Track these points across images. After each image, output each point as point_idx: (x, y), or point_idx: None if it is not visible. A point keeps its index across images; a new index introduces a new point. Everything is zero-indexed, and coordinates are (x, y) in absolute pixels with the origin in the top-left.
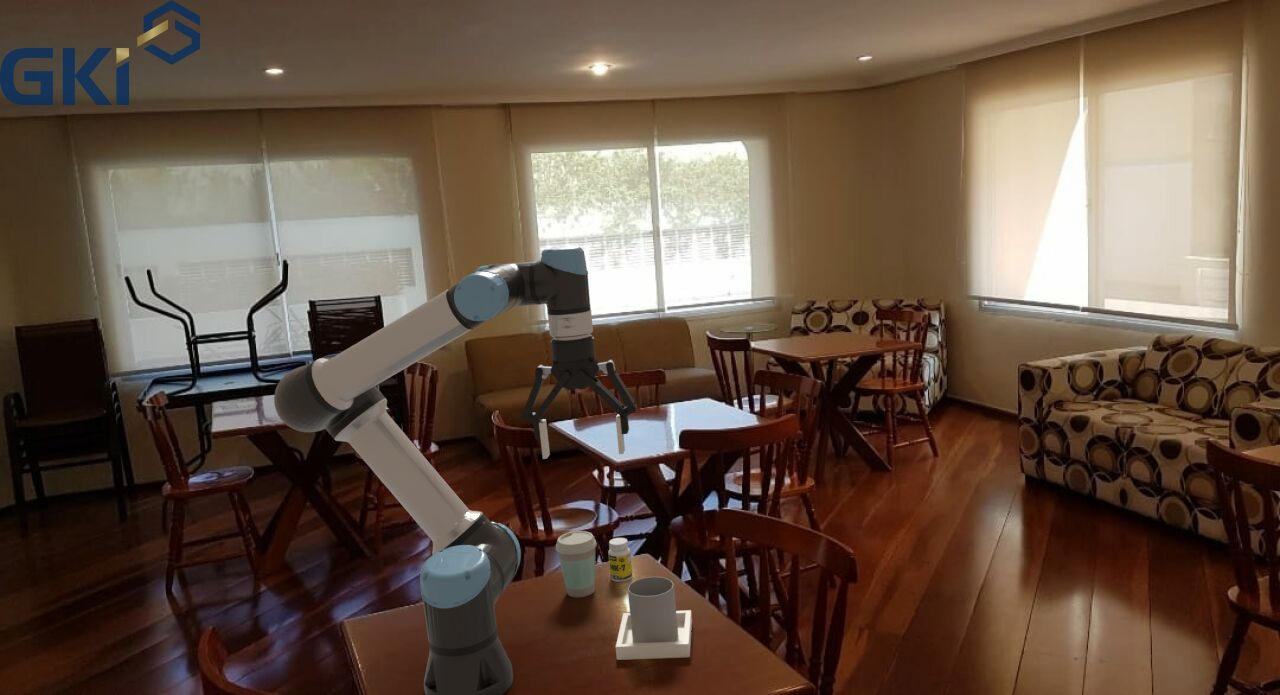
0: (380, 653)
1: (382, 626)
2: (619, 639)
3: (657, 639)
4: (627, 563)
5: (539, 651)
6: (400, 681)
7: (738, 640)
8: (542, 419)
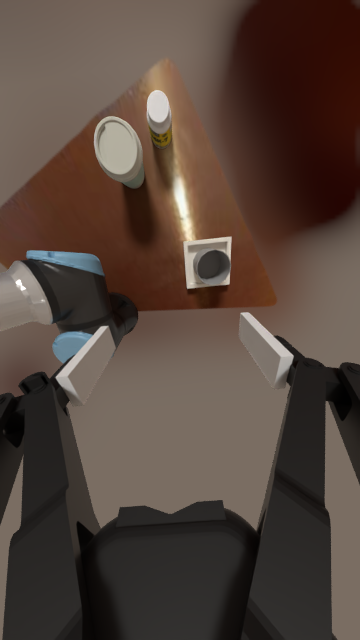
0: None
1: (6, 245)
2: (187, 279)
3: (210, 277)
4: (169, 133)
5: (138, 278)
6: None
7: (256, 262)
8: (58, 378)
